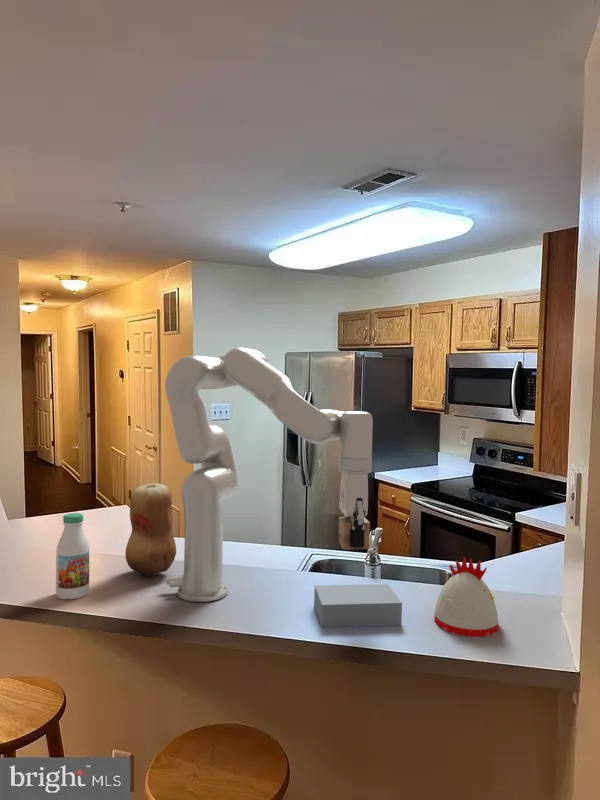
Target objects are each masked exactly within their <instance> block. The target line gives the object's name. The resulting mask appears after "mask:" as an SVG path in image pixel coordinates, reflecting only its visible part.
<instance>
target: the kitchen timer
mask: <svg viewBox="0 0 600 800" xmlns="http://www.w3.org/2000/svg"><path fill="white" fill-rule="evenodd" d="M481 563H482V562H481V560H479V561H477V565H476V567H474V563H473V559H472V557H471V558H470V559H469V562H468V564H467V560H466V557H465V556H463V558H462V562H461V563H460V562H459V560H456V561H455V564H456V569H455V568H454V566H453V564H450V565H449V570H450V572H451V573H452V576H451V577H450V578H449V579H448V580H447V581H446V582H445V583H444V585H443V586H442V587H441V590H440V592H439V595H438V598H437V601H436V604H435V609H434V621H433V622H434V623H435V624H436V626H437V625H438V627H439V628H440V629H441V630H443V631H445V630H446V632H447V631H448V633H450V632H451V634H453V633H455V634H454V635H457V634H458V636H462V635H464V636H463V637H468V636H471V637H472V638H483V637H484V636H485V637H489V636H493V635H494V634H496V633H497V632H498V631H499V615H498V609H497V607H496V606H497V605H496V602H495V598H494V596H493V593H492V592H491V590H490V588H489V587H488V585H487V583H486V582H485V581H484V580H483V579H482V578H483V576H484V575H485V573H486V571H487V568H488V567H487V566H486V567H485V568H484V569H483V570H481V569H482V567H481ZM495 632H496V633H495ZM493 633H494V634H493ZM488 635H489V636H488ZM471 637H470V638H471Z"/></svg>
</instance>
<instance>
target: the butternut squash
mask: <svg viewBox="0 0 600 800" xmlns="http://www.w3.org/2000/svg"><path fill="white" fill-rule="evenodd" d="M172 504H173V500H172V491H171V490H170V488H169V487H168V486H167V485H166V484H162V483H147V484H142V485H140V486H138V487H136V488H135V489H134V490H133V491H132V493H131V495H130V500H129V519H130V520H129V521H130V525H131V533H130V535H129V538H128V541H127V543H126V547H125V553H124V554H125V559H126V563H127V565H128V566H129V568H130V569H131V570H132V571H134V572H136V573H137V574H140V575H141V576H146V577H154V576H155V575H157V574H158V573H159V574H160V573H165V572H167V571H168V570H169V569H170V567H171V566H172V565H173V563H174V561H175V558H176V557H177V556H176V555H177V546H176V541H175V536H174V533H173V515H172V506H173V505H172Z"/></svg>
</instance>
